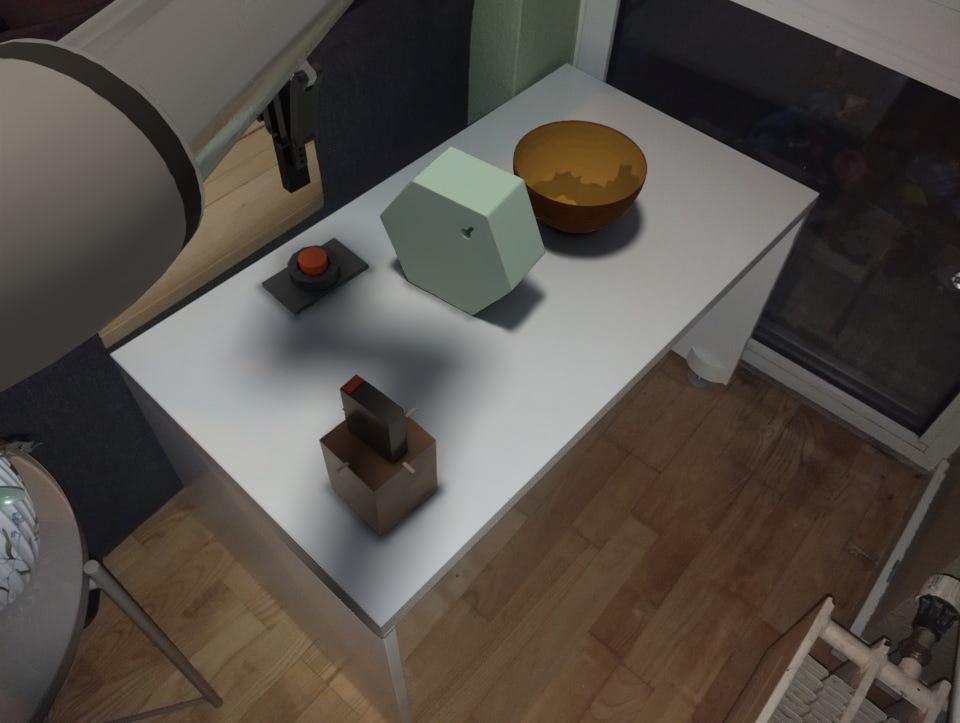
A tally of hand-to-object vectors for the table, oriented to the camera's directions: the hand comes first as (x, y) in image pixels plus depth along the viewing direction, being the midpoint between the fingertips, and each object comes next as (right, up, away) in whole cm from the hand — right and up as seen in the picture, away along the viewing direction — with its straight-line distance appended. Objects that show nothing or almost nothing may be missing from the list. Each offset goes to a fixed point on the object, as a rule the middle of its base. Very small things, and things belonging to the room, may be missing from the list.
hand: (296, 184), depth 85 cm
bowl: (+33, +1, +24) cm, 41 cm away
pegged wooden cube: (+10, -33, -3) cm, 35 cm away
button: (-1, -7, +13) cm, 15 cm away
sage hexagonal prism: (+18, -9, +15) cm, 25 cm away
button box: (-1, -9, +15) cm, 17 cm away
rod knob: (+11, -27, -11) cm, 31 cm away
